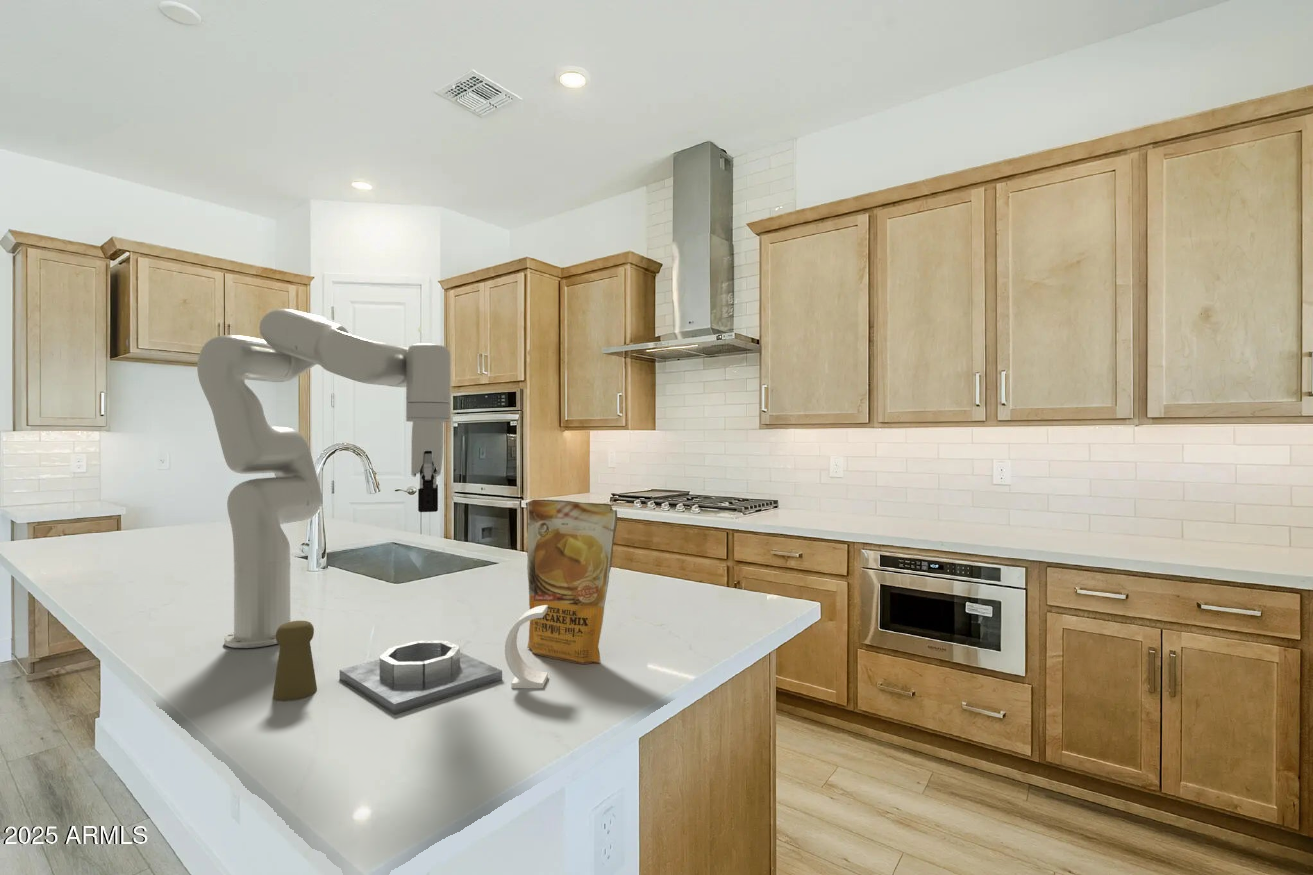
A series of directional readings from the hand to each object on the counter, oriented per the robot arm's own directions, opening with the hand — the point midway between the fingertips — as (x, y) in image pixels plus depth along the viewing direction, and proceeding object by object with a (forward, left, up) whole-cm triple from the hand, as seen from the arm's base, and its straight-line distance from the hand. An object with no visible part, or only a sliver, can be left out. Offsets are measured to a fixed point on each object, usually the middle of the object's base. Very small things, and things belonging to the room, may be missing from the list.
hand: (428, 508), depth 116 cm
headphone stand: (+23, +5, -27) cm, 36 cm away
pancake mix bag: (+17, +18, -27) cm, 37 cm away
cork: (0, -22, -27) cm, 35 cm away
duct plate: (+9, -6, -27) cm, 29 cm away
